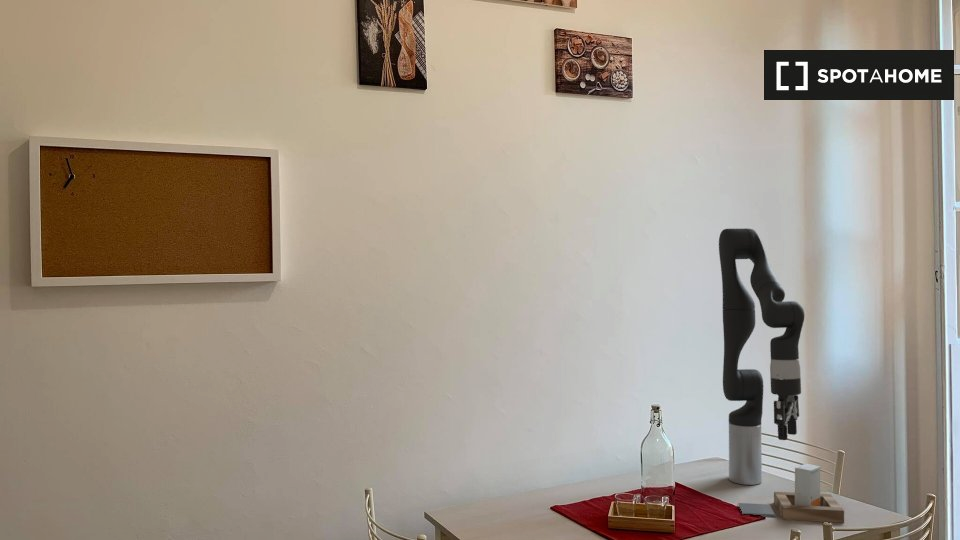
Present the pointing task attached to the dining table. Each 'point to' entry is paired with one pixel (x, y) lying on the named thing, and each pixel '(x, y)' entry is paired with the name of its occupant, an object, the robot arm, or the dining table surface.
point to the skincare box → (807, 485)
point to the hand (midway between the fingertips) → (787, 437)
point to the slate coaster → (756, 509)
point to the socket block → (808, 508)
